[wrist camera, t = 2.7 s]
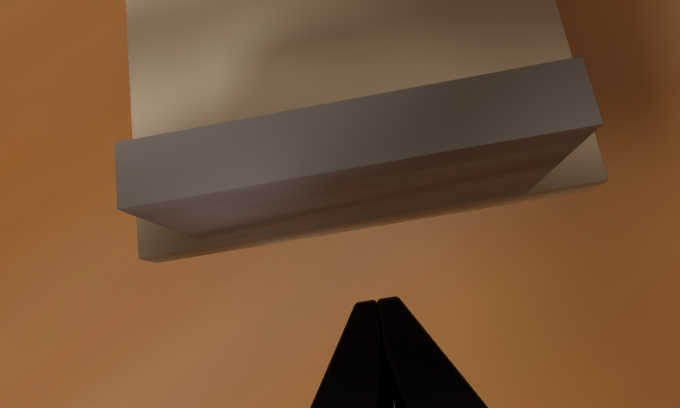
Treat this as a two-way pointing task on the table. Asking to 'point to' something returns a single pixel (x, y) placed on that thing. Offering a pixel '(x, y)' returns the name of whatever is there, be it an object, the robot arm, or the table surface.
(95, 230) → the table surface
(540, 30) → the lid
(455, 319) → the table surface
